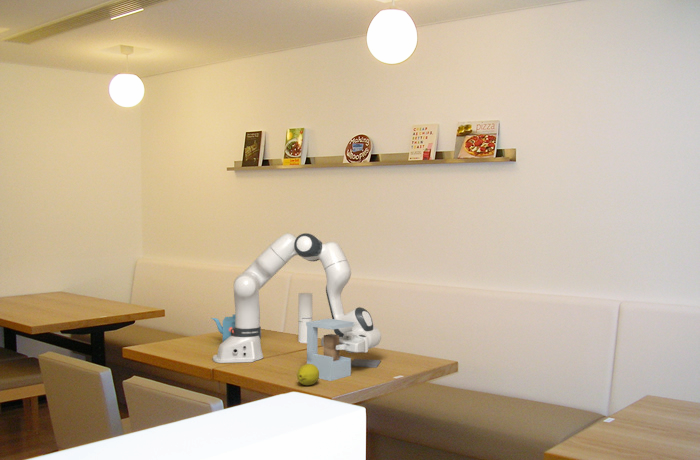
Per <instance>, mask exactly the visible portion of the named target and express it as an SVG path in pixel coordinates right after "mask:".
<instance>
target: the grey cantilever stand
mask: <svg viewBox="0 0 700 460" xmlns="http://www.w3.org/2000/svg"><path fill="white" fill-rule="evenodd" d="M306 326H307V343H306V364H313V365H315V366H316V367H317V368H318V370H319V378H318V379H320V380H325V381H328V382H329V381H330V382H332V381H336V380H339V379H343V378H346V377H350V376H351V374H352V366H351V362H352V358H351V357H346V356H342V355H339V360H337V361H333V357H329V356H324V354H319V353H318V348H319V347H318V343H319V341H318V340H319V338H318V337H319V336H318V333H319V332H318V331H319V330H318V329H319V328H320V329H324V330H325V329H326V330H331V331H332V330H333V331H334V329H339V328H344V327H350V326H354V322H349V321H342V320H335V319H332V318H323V319H318V320H312V321H310V322H306Z"/></svg>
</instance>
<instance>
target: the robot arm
mask: <svg viewBox="0 0 700 460" xmlns="http://www.w3.org/2000/svg"><path fill="white" fill-rule="evenodd" d="M295 256H299V257H301V258H302V259H304V260H305V261H309V262H317V261H319V262H320V263H321V264H322V267H323V270H324V272H325V276H326V286H325V293H326V298H327V302H328V303H327V304H328V307H329V310H330V314H331V319H335V320H342V321H349V322H354V326H350V327H344V328H339V329H333V332H334V334H335V335H339V345H334V349H335V350H339V351H345V352H347V353H348V354H353V353H354V354H355V353H368V352H369V350H370V349H374V348H375V347H378V345H379V344H380V342H381V340H382V333H381V330H380V329H378V328H377V327H376V326H375V325H374V322H373V318H372V315H371V313H370V312H369V311H368V310H367V309H365V308H363V307H360V306H359V307H356V308H355V309H352V310H350V311H349V312H347V313H346V314H345V310H344V307H343V304H342V303H343V302H342V296H341V295H342V292H343V290H344V288H345V286H346V285H347V284H348V283H349V281H350V279H351V275H352V269H351V266H350V264H349V261H348V258H347V256H346V254H345V252H344V251H343V249H342V248H341V245H339V243H337V242H336V241H329V242H328V241H327V242H326V243H323V241H321V240H320V239H319V238H318V237H317V236H315V235H314V234H311V233H307V232H306V233H300V234H299V235H298V236H297V237H296V236H295V235H294V234H293V233H289V232H287V233H284V234H282V235H281V236H279V237H278V238H277V239H276V240H275V239H274V241H273V242H272V243H271V244H269V246H268V247H267V248H265V249H264V251H262V253H261V254H260V255H259V256H258V257H257V258H256V259H254V261H253V262H252V263H251V264H250V265H249V266H248V267H247V268H246V269H245V270H244V271H243V272H242V273H240V274H239V275H238V276H237V277H235V279H234V281H233V298H234V299H233V300H234V308H235V309H234V313H235V327H234V328H232V327H230V328H229V331H230V332H231V336H230V337H229V338H227V339H226V340H225V341H224V342H223V341H222V342H221V343H220V344H219V346H218V349H217V354H214V355H213V356H212V361H213V362H214V363H218V364H227V363H228V364H230V363H231V364H233V363H254V362H255V361H259V360H262V359H263V358H264V354H263V351H262V345H261V344H262V343H261V338H262V329H261V308H260V290H261V289H262V288H263V287H264V286H265V285H266V284H267V283H268V282H269V281H270V280H271V279H272V278H273V277H274V276H276V274H277V273H278V272H279V271H280V270H281V269H282V268H284V266H286V264H288V262H289V261H290V260H291V259H292V258H294V257H295ZM320 345H321V347H322V348H324V336H323V337H322V338H321V339H320Z"/></svg>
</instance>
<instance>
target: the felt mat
mask: <svg viewBox="0 0 700 460" xmlns="http://www.w3.org/2000/svg"><path fill="white" fill-rule="evenodd" d="M381 361H382V359H366V358H365V359H364V358H354V359H353V360H351V367H354V368H355V367H356V368H358V367H359V368H360V367H361V368H378V367H379V365H380V363H381Z"/></svg>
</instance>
